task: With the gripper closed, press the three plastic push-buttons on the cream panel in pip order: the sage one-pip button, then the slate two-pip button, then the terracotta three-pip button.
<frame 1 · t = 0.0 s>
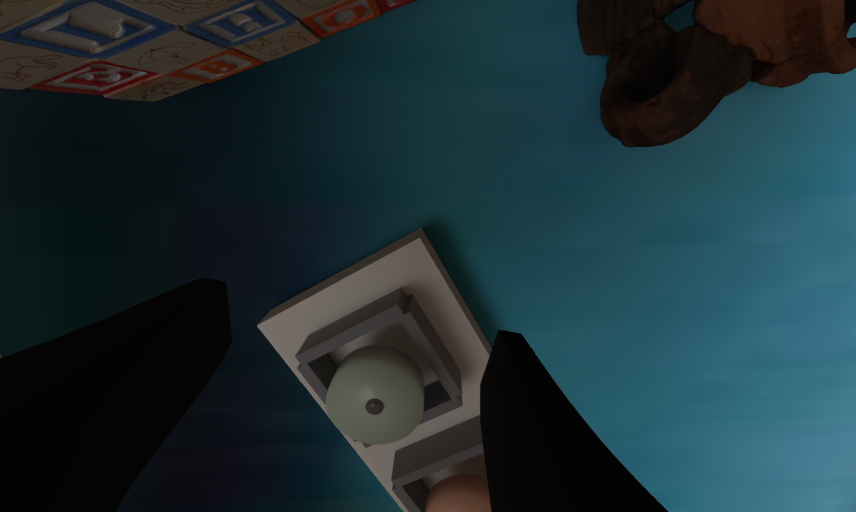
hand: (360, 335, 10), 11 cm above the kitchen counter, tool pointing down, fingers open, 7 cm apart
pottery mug: (666, 25, 17), on the kitchen counter
one pip button: (377, 395, 17), point 5 cm above the kitchen counter, slide at 0.0 cm
button panel: (460, 443, 24), on the kitchen counter
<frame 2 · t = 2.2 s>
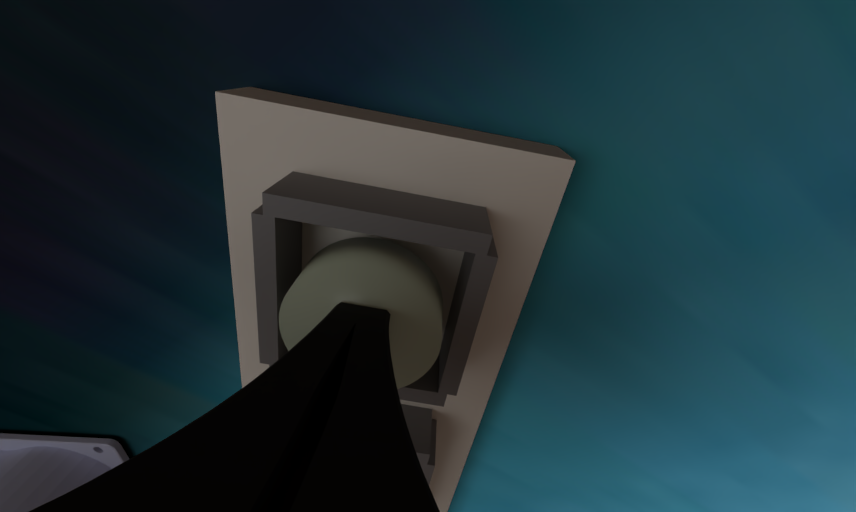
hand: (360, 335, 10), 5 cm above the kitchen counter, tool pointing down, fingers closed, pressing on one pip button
one pip button: (365, 318, 11), point 4 cm above the kitchen counter, slide at 0.9 cm, touching gripper
button panel: (365, 409, 18), on the kitchen counter
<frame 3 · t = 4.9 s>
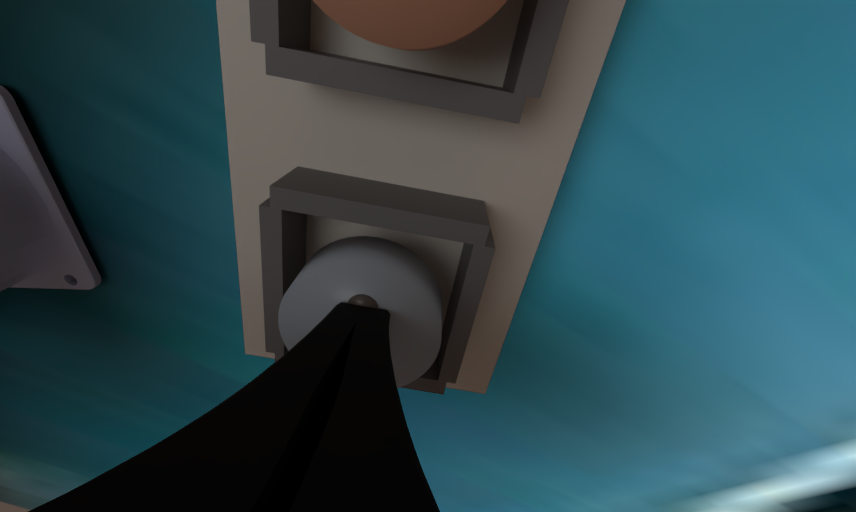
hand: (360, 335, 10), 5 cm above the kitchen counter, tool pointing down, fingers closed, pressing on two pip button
two pip button: (365, 317, 10), point 5 cm above the kitchen counter, slide at 0.4 cm, touching gripper
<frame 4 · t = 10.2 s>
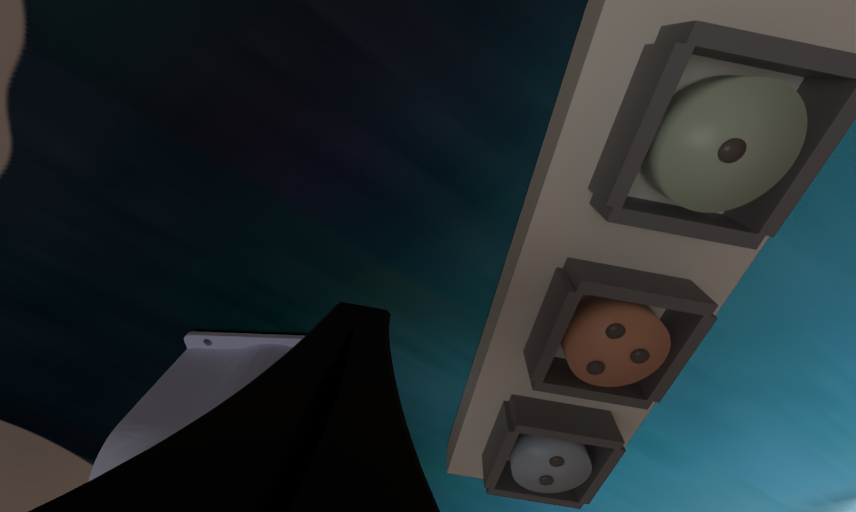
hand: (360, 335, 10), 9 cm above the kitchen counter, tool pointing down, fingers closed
three pip button: (611, 341, 17), point 3 cm above the kitchen counter, slide at 1.7 cm
one pip button: (717, 146, 13), point 3 cm above the kitchen counter, slide at 1.7 cm
two pip button: (548, 458, 21), point 3 cm above the kitchen counter, slide at 1.7 cm
button panel: (588, 300, 20), on the kitchen counter
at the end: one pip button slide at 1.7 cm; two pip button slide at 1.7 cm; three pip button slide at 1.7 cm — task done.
